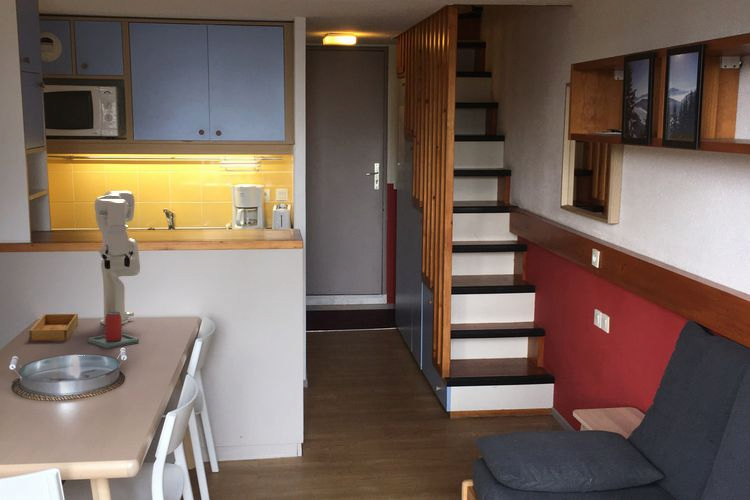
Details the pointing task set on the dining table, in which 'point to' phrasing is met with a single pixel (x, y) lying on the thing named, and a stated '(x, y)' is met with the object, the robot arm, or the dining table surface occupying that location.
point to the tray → (54, 327)
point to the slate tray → (106, 344)
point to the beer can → (113, 327)
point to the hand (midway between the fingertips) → (117, 267)
